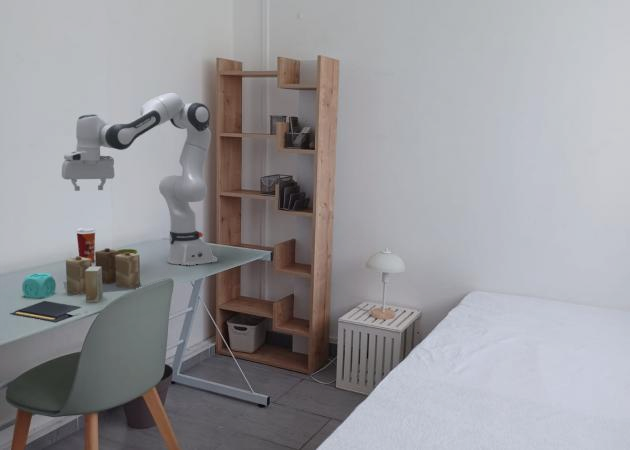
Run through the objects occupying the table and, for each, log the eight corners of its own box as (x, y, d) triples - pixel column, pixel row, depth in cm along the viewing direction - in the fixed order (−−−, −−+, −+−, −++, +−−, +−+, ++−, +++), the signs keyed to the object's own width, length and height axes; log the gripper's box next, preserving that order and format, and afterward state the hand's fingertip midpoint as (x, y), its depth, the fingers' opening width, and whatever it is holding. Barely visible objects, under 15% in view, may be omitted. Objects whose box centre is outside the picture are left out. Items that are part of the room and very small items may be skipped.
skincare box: (90, 299, 216) (89, 266, 214) (103, 299, 216) (102, 266, 214) (85, 304, 210) (84, 270, 208) (98, 304, 210) (97, 270, 208)
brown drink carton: (108, 278, 240) (107, 246, 238) (119, 280, 238) (119, 248, 235) (96, 281, 235) (95, 249, 233) (107, 284, 232) (106, 251, 230)
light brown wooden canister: (80, 288, 226) (79, 254, 224) (92, 290, 223) (91, 256, 221) (67, 291, 221) (65, 257, 218) (79, 294, 218) (77, 259, 215)
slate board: (134, 278, 246) (134, 275, 246) (144, 290, 228) (144, 288, 228) (63, 284, 234) (62, 282, 233) (68, 298, 216) (68, 295, 216)
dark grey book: (89, 306, 204) (54, 319, 190) (89, 311, 204) (54, 325, 191) (44, 298, 212) (8, 310, 198) (45, 303, 212) (8, 315, 198)
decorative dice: (37, 293, 221) (35, 272, 220) (56, 295, 220) (55, 273, 218) (22, 299, 214) (21, 277, 212) (42, 301, 212) (41, 279, 211)
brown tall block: (128, 282, 235) (127, 250, 233) (140, 284, 232) (139, 252, 230) (116, 286, 230) (115, 252, 228) (128, 288, 227) (127, 254, 225)
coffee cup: (90, 264, 266) (88, 231, 263) (73, 263, 267) (71, 230, 265) (100, 260, 274) (99, 228, 271) (84, 259, 275) (82, 226, 273)
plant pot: (128, 275, 250) (128, 254, 249) (109, 272, 254) (109, 252, 252) (142, 270, 259) (142, 250, 258) (124, 267, 262) (123, 248, 261)
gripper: (110, 155, 249) (110, 188, 251) (59, 155, 236) (60, 190, 238) (117, 156, 245) (117, 190, 247) (65, 156, 231) (66, 191, 233)
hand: (88, 190), depth 242 cm, fingers open, 8 cm apart
